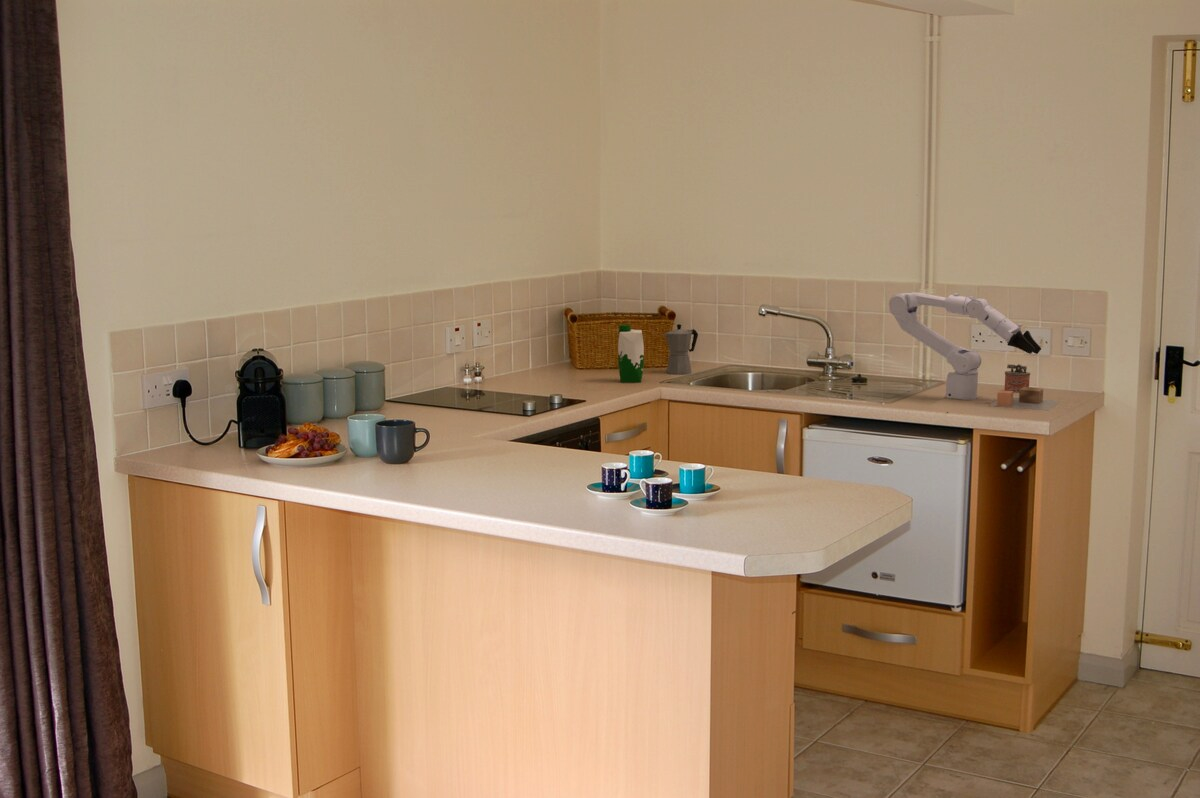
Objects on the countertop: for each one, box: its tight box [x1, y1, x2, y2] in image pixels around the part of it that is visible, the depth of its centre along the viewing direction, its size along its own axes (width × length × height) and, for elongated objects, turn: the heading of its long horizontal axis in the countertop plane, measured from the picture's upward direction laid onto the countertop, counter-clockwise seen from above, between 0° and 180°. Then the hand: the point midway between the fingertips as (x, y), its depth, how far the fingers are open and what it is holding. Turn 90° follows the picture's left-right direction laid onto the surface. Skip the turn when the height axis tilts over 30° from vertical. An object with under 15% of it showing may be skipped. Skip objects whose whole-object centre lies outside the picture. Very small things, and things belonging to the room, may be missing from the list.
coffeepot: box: [664, 323, 699, 376], centre depth 472 cm, size 15×9×18 cm, turn 125°
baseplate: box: [988, 396, 1061, 411], centre depth 401 cm, size 18×18×1 cm
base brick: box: [1018, 386, 1044, 404], centre depth 403 cm, size 6×6×4 cm
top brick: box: [996, 389, 1014, 406], centre depth 399 cm, size 4×4×4 cm
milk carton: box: [617, 324, 645, 384], centre depth 453 cm, size 9×9×20 cm
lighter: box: [1003, 363, 1031, 393], centre depth 422 cm, size 8×3×10 cm, turn 65°
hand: (1036, 351), depth 396 cm, fingers open, 7 cm apart
